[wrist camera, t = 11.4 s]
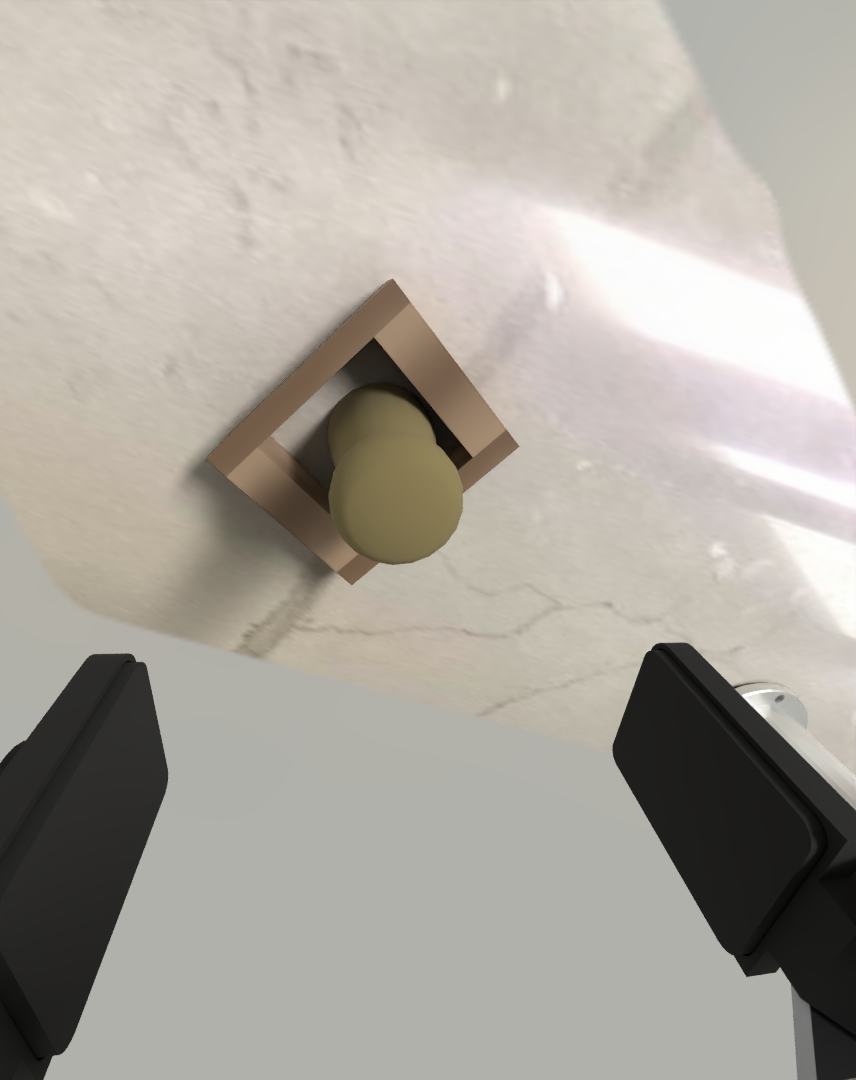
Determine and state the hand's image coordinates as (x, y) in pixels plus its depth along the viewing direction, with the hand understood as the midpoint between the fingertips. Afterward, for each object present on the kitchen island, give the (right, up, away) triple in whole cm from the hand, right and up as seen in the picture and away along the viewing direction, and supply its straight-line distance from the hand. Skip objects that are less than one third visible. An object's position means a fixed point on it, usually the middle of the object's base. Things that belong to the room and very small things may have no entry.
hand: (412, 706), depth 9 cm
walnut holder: (-3, +9, +18) cm, 20 cm away
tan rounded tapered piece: (-2, +9, +18) cm, 20 cm away
